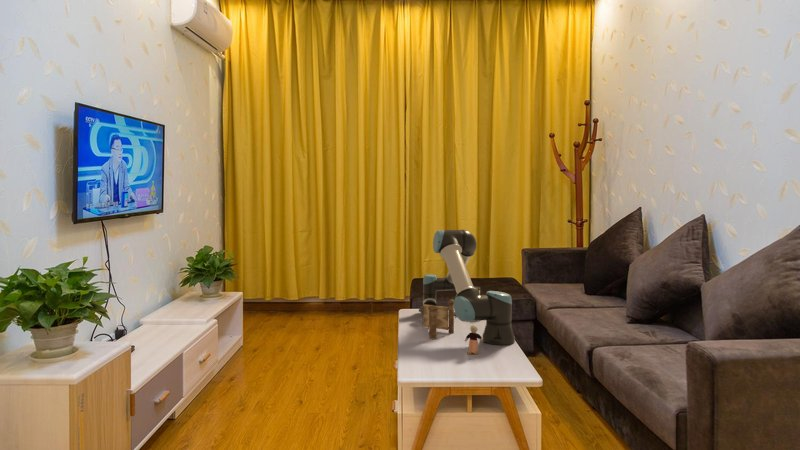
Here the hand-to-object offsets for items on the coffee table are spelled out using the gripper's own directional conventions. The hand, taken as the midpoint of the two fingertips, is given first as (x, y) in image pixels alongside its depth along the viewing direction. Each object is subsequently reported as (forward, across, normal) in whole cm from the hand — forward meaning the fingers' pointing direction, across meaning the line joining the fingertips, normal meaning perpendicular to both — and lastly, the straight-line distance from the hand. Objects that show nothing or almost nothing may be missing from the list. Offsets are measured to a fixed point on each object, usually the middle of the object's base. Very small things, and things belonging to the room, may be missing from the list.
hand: (431, 316), depth 266 cm
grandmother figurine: (+39, -18, -6) cm, 43 cm away
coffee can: (-41, -25, -7) cm, 49 cm away
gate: (+3, -2, -5) cm, 6 cm away
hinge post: (+6, -10, -7) cm, 13 cm away
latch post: (+16, 0, -6) cm, 17 cm away
